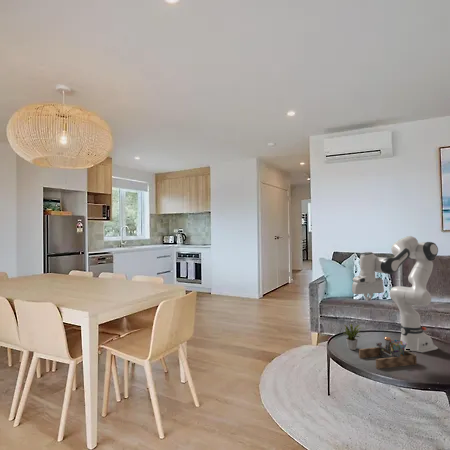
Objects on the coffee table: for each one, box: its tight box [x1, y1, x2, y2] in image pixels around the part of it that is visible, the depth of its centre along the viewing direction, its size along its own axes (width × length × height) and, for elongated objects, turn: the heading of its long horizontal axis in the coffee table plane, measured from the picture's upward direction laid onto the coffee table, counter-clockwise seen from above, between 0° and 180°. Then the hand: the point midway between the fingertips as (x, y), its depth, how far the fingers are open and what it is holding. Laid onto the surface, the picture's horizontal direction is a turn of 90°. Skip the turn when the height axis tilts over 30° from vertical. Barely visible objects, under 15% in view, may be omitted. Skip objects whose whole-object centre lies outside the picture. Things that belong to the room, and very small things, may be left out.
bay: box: [358, 345, 418, 370], centre depth 195 cm, size 25×19×6 cm
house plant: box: [342, 323, 362, 351], centre depth 217 cm, size 14×14×16 cm
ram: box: [376, 336, 401, 358], centre depth 196 cm, size 3×19×13 cm, turn 11°
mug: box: [390, 338, 407, 357], centre depth 196 cm, size 12×9×11 cm
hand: (368, 300), depth 207 cm, fingers closed
